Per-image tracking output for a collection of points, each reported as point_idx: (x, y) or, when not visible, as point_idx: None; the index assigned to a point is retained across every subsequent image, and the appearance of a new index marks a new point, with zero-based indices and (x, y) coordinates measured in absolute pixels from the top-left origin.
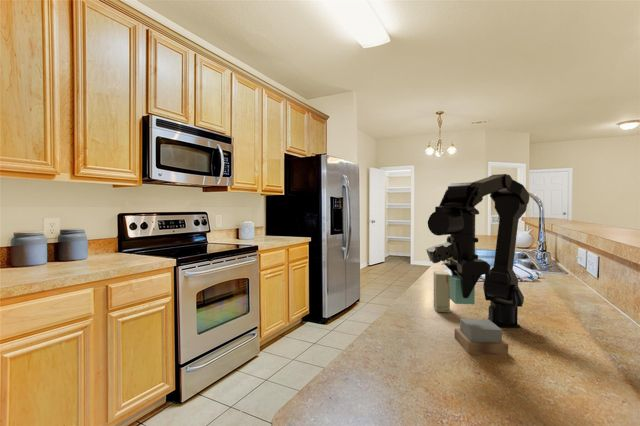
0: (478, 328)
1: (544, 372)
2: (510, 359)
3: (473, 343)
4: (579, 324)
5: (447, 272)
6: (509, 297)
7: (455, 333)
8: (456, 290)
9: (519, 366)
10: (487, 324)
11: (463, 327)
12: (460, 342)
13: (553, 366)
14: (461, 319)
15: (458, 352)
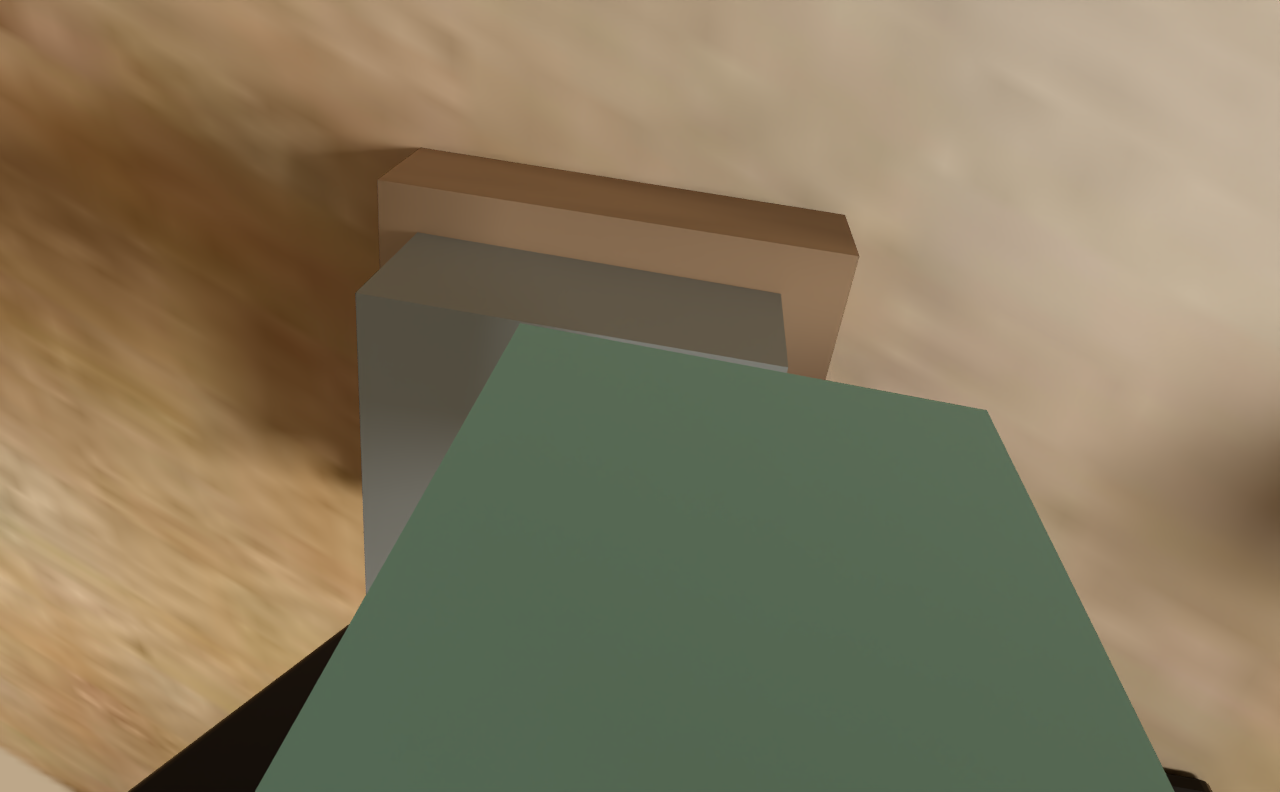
0: (390, 400)
1: (152, 537)
2: (330, 453)
3: (380, 239)
4: None
5: None
6: None
7: (818, 232)
8: (396, 568)
9: (213, 442)
10: None
11: (658, 308)
12: (643, 190)
13: (256, 640)
14: (752, 366)
15: (443, 48)
